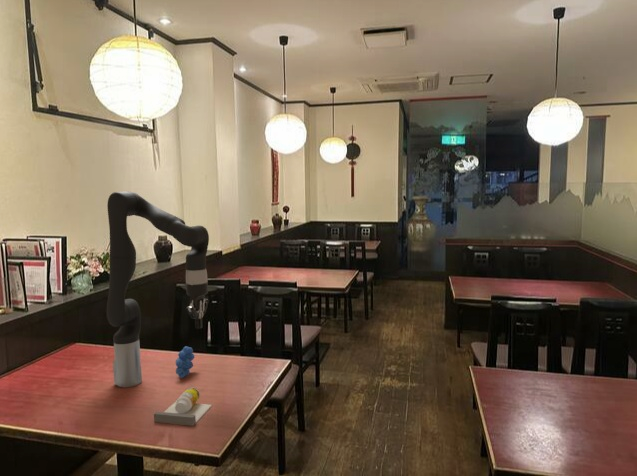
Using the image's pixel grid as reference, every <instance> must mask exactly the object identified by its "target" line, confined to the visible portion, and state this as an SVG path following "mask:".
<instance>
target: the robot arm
mask: <svg viewBox="0 0 637 476" xmlns="http://www.w3.org/2000/svg"><path fill="white" fill-rule="evenodd" d="M107 216H108V227H109V260H108V261H109V278H108V279H109V283H108V285H109V286H108V296H107V303H106V304H107V305H106V318H107V320H108V323H109V324H110V325H111V326H112V327H114V328H115V327H117V328H118V327H119V329H117V331H116V332H115V333H114V334H113V338H112V340H113V350H114V351H113V352H114V360H113V361H112V368H113V370H112V371H113V383H114V385H115V386H117V387H119V388H131V387H135V386H138V385H139V384H140V383H142V381H143V375H142V362H141V361H142V359H141V347H140V333H141V329H142V328H141V327H142V325H141V323H142V322H141V321H142V320H141V308H140V306H139V303H138V302H137V300H135V298H134V299H133V298H126V293H127V289H128V286H129V284H130V282H131V281H132V278H133V276H134V275H135V271H136V267H137V250H136V247H135V245H134V243H133V241H132V238H131V237H130V235H129V233H128V232H129V231H128V222H127V220H128V217H133V216H136V217H141V218H143V219H144V220H147V221H148V222H150V223H151V224H152V225H153V227H154V228H155V229H157V230H159V231H161V232H163V233H165V234H167V235H169V236H170V237H172V238H174V239H175V240H176V241H177V242H179V244H181V245H184V246H186V247H188V248H191V249H190V251H189V252H188V253H187V254H186V255H185V285H186V286H185V287H186V288H185V289H186V290H185V292H186V295H187V296H189V297H190V298H189V306H186V309H185V310H186V311H187V314H188V315H189V317H190V318H191V319H194V327H195V329H198V330H199V329H202V328H203V317H204V315H205V314H206V312H207V308H208V305H209V299H208V298H206V295H208V294H209V285H208V284H209V283H208V282H209V281H208V272H207V258H206V257H207V252H208V248H209V243H210V242H209V241H210V236H209V231H208V229H207V228H206V227H205V226H203V225H195V226H189V225H186V222H185V221H184V220H183V219H182V218H180V217H179V216H176V215H173V214H171V213H169V212H166V211H165V210H163V209H161V208H159V207H158V206H155V205H154V204H153V203H151V202H149V201H148V200H147V199H145V198H144V197H142V196H141V195H139V194H138V193H136V192H134V191H114V192H112V193H110V194H109V196H108V199H107Z"/></svg>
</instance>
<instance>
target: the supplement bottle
mask: <svg viewBox="0 0 637 476" xmlns="http://www.w3.org/2000/svg"><path fill="white" fill-rule="evenodd" d="M200 395H201V394H200V391H199V390H198V389H197V388H195V387H193V386H191V387H188V388H186V389H185V390H184V391H183V392H182V393H181V395H180V396H179V397H178V398H177V400H176V401H175V402H176V406H175V409H176V411H177V412H178V413H180V414H183V413H185V412H188V411H189V410H190V409H191V408H192V407H193V406H194V404H195V403H196V404H197V402H198V400H199V399H200V397H201V396H200Z"/></svg>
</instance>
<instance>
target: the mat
mask: <svg viewBox="0 0 637 476" xmlns="http://www.w3.org/2000/svg"><path fill="white" fill-rule="evenodd" d="M175 406H176V401H175V402H174V403H172V404H171V405H170V406H169V407H167V408H166V410H164V411H158V410H156V411H154V413H153V422H154V423H161V424H171V425H182V426H188V427H190V426H191V427H194V426H195V425H196V424H197V423H198V421H200V420H201V418H203V416H205V414H206V413H207V412H208V411H209V410H210V409H211V408H212V407H213V405H212V404H206V403H205V404H204V403H197V402H196V403H195V404H194V406H193V407H192V408H191V409H190V410H189V411H188V412H185V413H183V414H180V413H178V412H177V411H176V409H175Z"/></svg>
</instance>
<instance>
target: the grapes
mask: <svg viewBox="0 0 637 476" xmlns="http://www.w3.org/2000/svg"><path fill="white" fill-rule="evenodd" d="M177 356H178V358H176V360H175V366H176V369H175V374H176V375H177V376H178V378H179V379H183V378H184V377H187V376H188V375H189V374H190V370H191V369H192V368H193V366H194V363H193V362H192V361H194V359H195V354H194V350H193V347H189V346H187V345H186V346H184V347H182V349H181V350H180V351H179V353H178V354H177Z"/></svg>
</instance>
